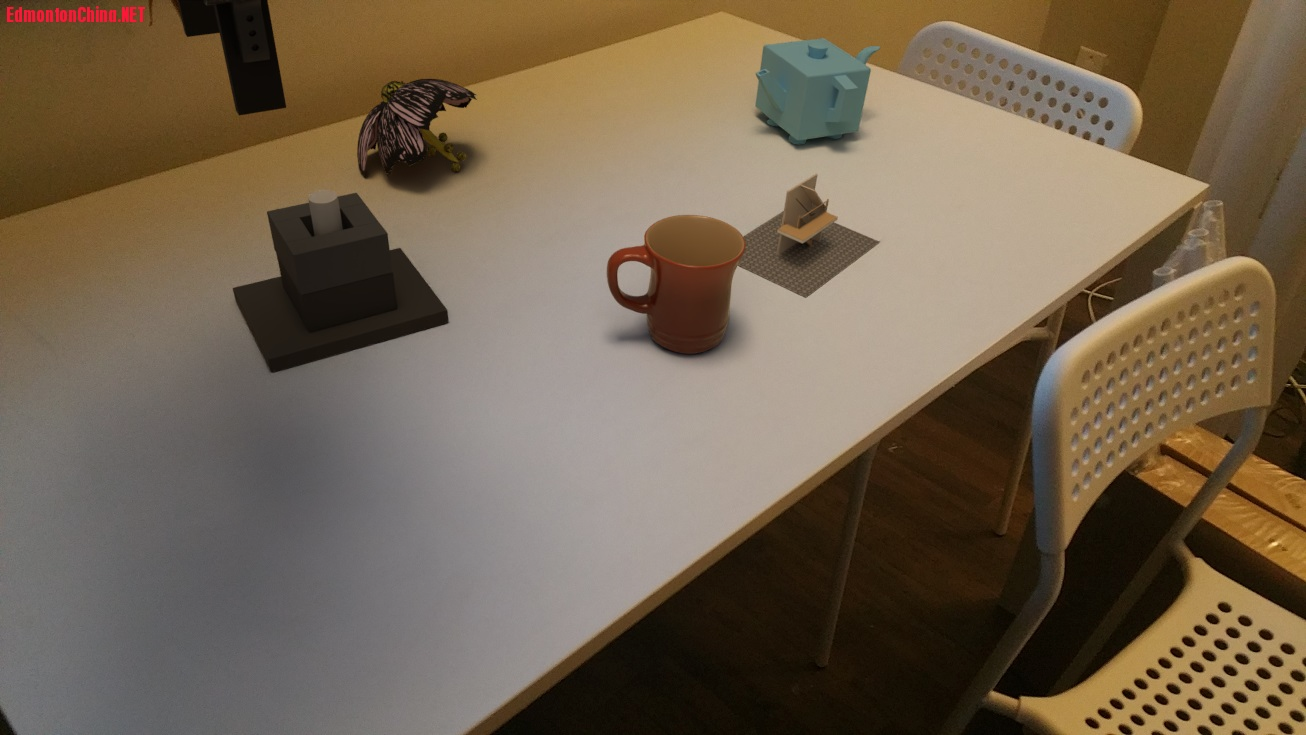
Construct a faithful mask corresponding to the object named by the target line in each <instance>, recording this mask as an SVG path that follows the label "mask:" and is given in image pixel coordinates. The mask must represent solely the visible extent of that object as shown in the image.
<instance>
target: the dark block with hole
mask: <svg viewBox="0 0 1306 735" xmlns="http://www.w3.org/2000/svg"><path fill="white" fill-rule="evenodd" d="M275 255H276V258H277V264H278V269H279V273H280V276H281V279H282V284H283V288H284V289H285V291H286V293H287V295H288V296H289V298H290V300H291V302H292V303H293V305H294V307H295V309H296V310H297V312H298V314H299V316H300V317H301V319H302V321H303V323H304V324H305V326H306V328H307V330H308V331H309V333H310V332H314V331H318V330H322V329H325V328H329V327H333V326H336V325H340V324H344V323H348V322H351V321H355V320H359V319H362V318H366V317H370V316H374V315H377V314H381V313H385V312H388V311H392V310H396V309H397V300H396V292H395V283H394V275H393V272H392V273H388V274H384V275H380V276H376V277H372V278H368V279H364V280H360V281H356V282H352V283H348V284H344V285H340V286H336V287H332V288H328V289H324V290H320V291H316V292H312V293H308V294H304V295H301V294H300V293H299V291H298V289H297V288H296V286H295V284H294V282H293V281H292V279H291V277H290V276H289V274H288V272H287V270H286V269H285V267H284V265H283V264H282V262H281V260H280V258H279V257H278V255H277V253H276V252H275Z"/></svg>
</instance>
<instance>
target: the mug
mask: <svg viewBox="0 0 1306 735" xmlns="http://www.w3.org/2000/svg"><path fill="white" fill-rule="evenodd" d="M743 236H744V235H743V234H742V233H741V232H740V231H739V229H737V228H736V227H734V226H732V225H731V224H729V223H728V222H725V221H723V220H720V219H717V218H715V217H711V216H706V215H700V214H699V215H698V214H680V215H679V214H678V215H673V216H667V217H664V218H662V219H660V220H659V219H658V220H657V221H656V222H654V223H653V224H651V225H650V226H649V227H648V229H646V230H645V232H644V235H643V238H644V239H643V240H644V243H643V244H642V245H636V246H629V247H624V248H620V249H618V250H616V251H614V252H613V253H612V254H611V255H610V257H609V258H608V260H607V263H606V282H607V287H608V289H609V292H610V294H611V296H612V298H613V299H614V300H615V301H616V302H617V303H618V305H619V306H621V307H623V308H625V309H627V310H630V311H632V312H635V313H638V314H644V315H646V323H647V327H648V333H649V335H650V337H651V338H652V340H653V341H654V342H655V343H656V344H657V345H659V346H660V347H662V348H665V349H666V350H668V351H671V352H674V353H678V354H685V355H692V354H699V353H703V352H707V351H709V350H711V349H714V348H715V347H717V345H719V344H720V343H721V341H722V340H723V337H724V334H725V332H726V331H727V327H728V324H729V319H730V307H731V299H732V287H733V278H734V276H735V272H736V270H737V268H738V266H739V265H738V263H739V261H740V260H741V258H742V256H743V254H744V251H745V247H746V244H745V240H744V237H743ZM629 262H636V263H641V264H643V265H644V266H646V267H649V268H650V276H649V284H648V289H647V292H646V293H645V294H643V295H630V294H628V293H625V292H624V291H623V290H622V289H621V287H620V286H619V278H618V276H619V275H618V272H619V268H620V266H621V265H622V264H624V263H629Z"/></svg>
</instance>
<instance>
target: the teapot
mask: <svg viewBox="0 0 1306 735" xmlns="http://www.w3.org/2000/svg"><path fill="white" fill-rule="evenodd" d="M880 49H881V46H878V45H872V46H871V45H870V46H867V47H864V48H862V49H861V51H859V53H857V54H856V56H855V57H854V56H852V55H851V54H849V53H848V52H846V51H845V50H844V49H841V48H840V47H838V46H837V45H835V44H834V43H832V42H831V41H829V40H828V39H826V38H824V37H822V38H814V39H805V40H804V39H803V40H795V41H786V42H778V43H770V44H769V43H768V44H764V45H763V46H762V54H761V60H760V69H759V71H756V72H755V77H756V79H757V80H758V83H757V90H756V97H755V104H754V105H755V107H756V109H758V110H759V111H760V112H761V113H762V114H764V115H765V116H766V117H767V118H768V119H767V121H766V124H767V125H768V126H771V127H780V128H781V129H783V131H785V132H786V133H787V134H789V137H788V142H790V143H791V144H794V145H804V144H806V143H807V140H811V139H817V138H823V137H826V138H830V139H833V140H835V139H837V140H839V139H840V138H842V137H843V134H849V133H855V132H859V131H860V124H861V120H862V115H863V111H864V106H865V101H866V96H867V91H868V86H869V82H870V76H871V72H872V69H871V68H870V67H869V66H868V65H867V62H868V61H869V59H871V57H872V55H873V54H876V52H878V51H879V50H880Z"/></svg>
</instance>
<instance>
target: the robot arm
mask: <svg viewBox="0 0 1306 735" xmlns="http://www.w3.org/2000/svg"><path fill="white" fill-rule="evenodd" d="M176 2H177V6H178V10H179V15H180V19H181V23H182V27H183V32H184V34H185V36H186V37H187V38H190V37H191V38H192V37H198V36H206V35H214V34H219V36H220V42H221V46H222V52H223V56H224V62H225V66H226V70H227V74H228V79H229V83H230V84H229V85H230V90H231V94H232V98H233V103H234V108H235V111H236V113H237V115H238V116H240V117H241V116H244V115H245V116H246V115H252V114H256V113H257V114H258V113H263V112H270V111H275V110H282V109H287V104H286V97H285V91H284V85H283V81H282V75H281V68H280V63H279V57H278V52H277V46H276V41H275V40H276V39H275V35H274V28H273V24H272V19H271V18H272V17H271V14H270V13H271V12H270V7H269V1H268V0H176Z"/></svg>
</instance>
